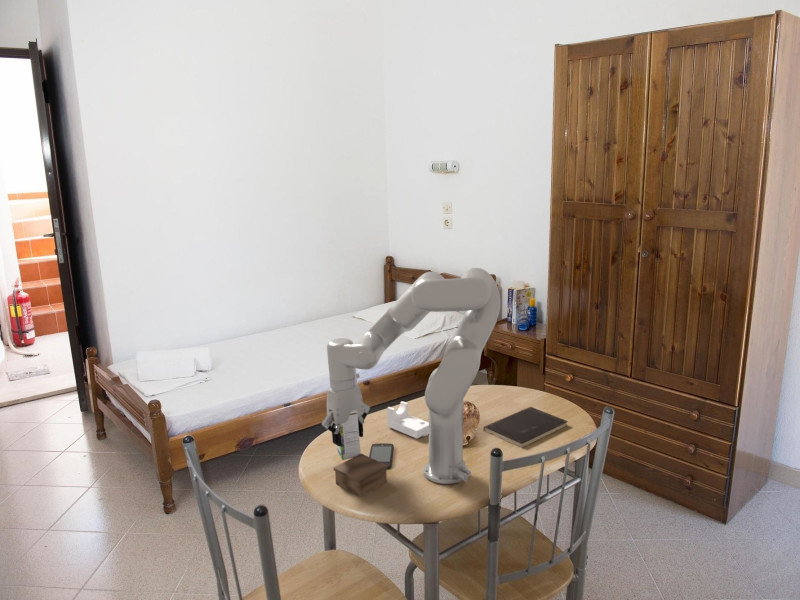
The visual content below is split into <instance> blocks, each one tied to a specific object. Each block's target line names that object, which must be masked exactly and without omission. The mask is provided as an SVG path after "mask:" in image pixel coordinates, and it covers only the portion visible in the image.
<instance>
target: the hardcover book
mask: <svg viewBox="0 0 800 600" xmlns="http://www.w3.org/2000/svg"><path fill="white" fill-rule="evenodd" d="M567 424H568V420H566V419H562V418H560V417H559V416H555V415H552V414H551V413H548V412H545V411H542V410H540V409H537V408H536V407H532V406H529V407H527V408H526V407H525V408H524V409H522V410H520V411H517V412H514V413H512V414H511V415H508V416H506V417H503V418H500V419H499V420H495V421H494V422H491V423H489V424H487V425H484V426H483V432H487V433H489V434H491V435H494V436H496V437H497V438H500V439H502V440H504V441H506V442H508V443H511V444H513V445H515V446H517V447H519V448H524V447H526V446H528V445H529V444H532V443H534V442H535V441H538V440H540V439H541V438H544V437H546V436H548V435H550V434H553V433H554V432H557V431H559V430H561V429H562V427H563V428H565V427H566V426H567ZM560 428H561V429H560ZM556 430H557V431H556Z"/></svg>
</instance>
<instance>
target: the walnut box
mask: <svg viewBox="0 0 800 600" xmlns="http://www.w3.org/2000/svg"><path fill="white" fill-rule="evenodd" d="M388 469H389V466H388V465H387V464H385V463H383V462H381V461H378V460H377V459H375V458H372V457H369V456H367V455H366V454H363V453H361V454H359V455H357V456H355V457H353V458H350V459H347V460H345V461H344V462H342V463H340V464H337V465H336V466H334V467H333V471H334V473H335V477H334V478H335V484H336V485H338V486H339V487H341V488H343V489H345V490H347V491H349V492H351V493H353V494H354V495H357V496H358V497H363V496H364V495H366V494H368V493H370V492H371V491H374V490H375V489H376V488H379V487H381V486H382V485H384V484H385V483H387V482H388V481H387V480H388V479H387V470H388Z"/></svg>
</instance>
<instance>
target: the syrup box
mask: <svg viewBox="0 0 800 600" xmlns="http://www.w3.org/2000/svg"><path fill="white" fill-rule="evenodd" d="M335 427H336V426H335ZM339 433H340V434H341V444H342V445H341V446H340V447H339V446H337V445H336V450H337V454H338V456H339V457H340V459H341V460H342V461H347V460H349V459H351V458H353V457H355V456H357V455H359V454H362V453H361V443H360V441H361V440H360V437H359V427H358V415H357V410H353V411H352V412H351V413H350V415H349V418H348V420H347V422H345V423H343V424H341V425H340V429H339Z"/></svg>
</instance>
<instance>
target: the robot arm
mask: <svg viewBox="0 0 800 600" xmlns="http://www.w3.org/2000/svg"><path fill="white" fill-rule="evenodd" d="M500 310H501V296H500V290H499V287H498V284H497V282H496V281H495V280H494V278H493V276H492V275H491V274H490V273H489V272H488V271H486V270H485V269H483V268H481V267H472V268H470V269H468V270H467V271H465V272H464V273H463V274H462V275H461V277H457V278H456V277H455V278H444V276H443V275H441V274H440V273H438V272H437V271H427V272H425V273H423V274H422V275H420V276H418V278H417V279H416V280H415V281H414V282H413V284H411V285H410V286H409V287H408V288H407V289H406V290H405V292H403V294H402V295H400V297H399V298H398V299H396V301H395V302H394V303H392V304H391V306H390V307H389V308H388V309H387V310H386V312H384V314H383V315H382V316H381V317H380V318H378V320H377V321H376V322H375V323H374V324H373V325H372V326H371V327H370V328H369V329H368V330H367V331H366V332H365V333H364V334H363V336H362V337H361V338H360V339H359V341H358V342H355V343H354V342H353V340H351V339H349V338H347V337H346V338H344V337H342V338H334V339H331V340H330V341H328V343H327V345H326V352H327V363H328V364H327V365H328V374H329V386H330V387H329V388H328V389H327V393H326V394H327V395H326V416H325V417H324V419H323V420H322V422H321V425H322V427H324V428H325V429H326V430H328V431H330V432H331V436H332V437H331V438H332V443H333V444H334V445H336V447H337V446H339V447H340V446H341V445H342V444H341V434H340V433H339V429H340V425H341V424H343V423H345V422H347V420H348V418H349V415H350V413H351V412H352V411H353V410H357V415H358V427H359V438H363V437H364V424H365V420H366V418H367V416H368V413H369V412H370V409H371V407H370V406H369V405H368V404H366V403H365V402H364V400H363V396H362V391H361V388H360V385H359V383H358V379H359V378H360V376H361V375H360V374H359V373H357V369H358V370H364V371H365V370H366V371H367V370H370V369H374V368H375V367H376V366H377V365H378V362H379V361H380V359H381V357H382V355H383V354H384V352H385V351H387V349H388V348H389V347H390V346H391V345H392V344H393V343H394V342H395V341H396V340H397V339H398V338H399V337H400V336H402V335H403V334H405V333H406V332H411V331H413V329H414V328H416V326H418V325H419V323H421V322H422V320H423V319H425V318H426V317H427V315H428V314H430V313H433V312H435V313H438V312H439V313H445V312H447V313H448V312H464V314H463V316H462V319H461V321H460V323H459V325H458V327H457V329H456V330H455V332H454V334H453V336H452V338H451V339H450V341H449V342H448V343H447V345H446V348H445V351H444V353H443V357H442V359H441V362H440V363H439V365H438V367H437V368H435V369H434V370H433V371H432V373H431V374H430V376H429V378H428V381H427V385H426V388H425V391H424V402H425V404H426V406H427V408H428V422H429V435H428V462H427V463H425V464H424V466H423V475H424V476H425V477H426V479H428V480H430V481H431V482H433V483H437V484H441V485H442V484H444V485H452V484H456V483H460V482H462V481H464V482H467V481H468V480H469V478H470V476H471V475H472V470H471V469H468V466H467V465H466V461H465V460H463V459H464V458H463V457H464V456H463V455H464V454H463V451H464V449H463V448H464V447H463V446H464V445H463V444H464V443H463V442H464V439H463V436H464V432H463V431H464V398H465V396H466V395H467V393H468V391H469V389H470V387H471V386H472V384H473V383H474V380H475V378H476V376H477V374H478V372H479V369H480V365H481V357H482V354H483V353H482V352H483V351H484V348H485V346H486V344H487V342H488V341H489V339H490V336H491V335H492V332H493V330H494V328H495V326H496V324H497V321H498V318H499V315H500ZM330 422H331V423H330ZM335 426H336V427H335Z"/></svg>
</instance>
